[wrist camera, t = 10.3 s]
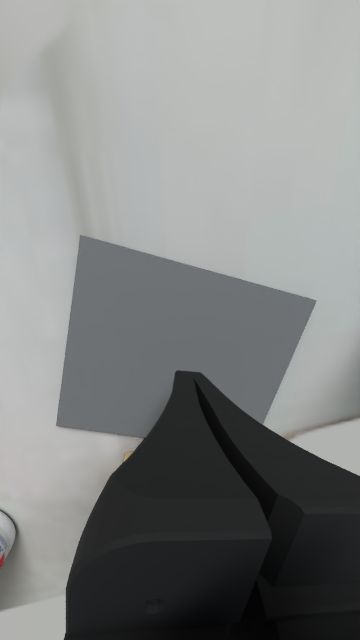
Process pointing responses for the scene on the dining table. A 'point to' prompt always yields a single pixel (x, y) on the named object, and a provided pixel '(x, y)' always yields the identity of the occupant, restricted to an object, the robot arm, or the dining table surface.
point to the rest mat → (168, 338)
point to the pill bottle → (6, 536)
